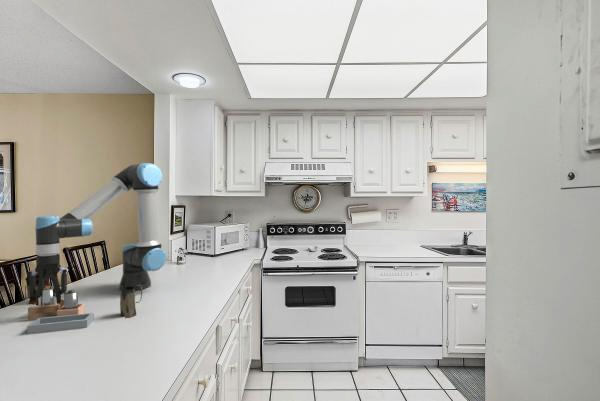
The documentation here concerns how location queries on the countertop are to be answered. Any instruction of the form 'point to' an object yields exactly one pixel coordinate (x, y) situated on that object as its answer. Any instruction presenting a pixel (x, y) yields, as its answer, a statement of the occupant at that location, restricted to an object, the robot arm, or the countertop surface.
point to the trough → (60, 323)
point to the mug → (128, 302)
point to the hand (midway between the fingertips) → (48, 312)
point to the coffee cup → (33, 299)
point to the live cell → (48, 295)
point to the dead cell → (71, 300)
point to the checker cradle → (43, 311)
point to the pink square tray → (72, 310)
